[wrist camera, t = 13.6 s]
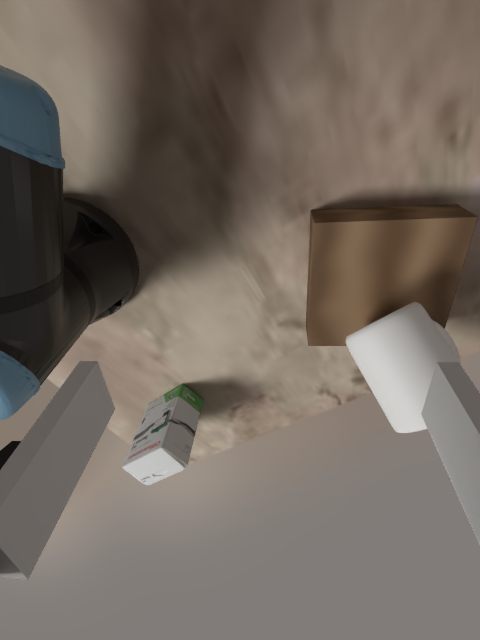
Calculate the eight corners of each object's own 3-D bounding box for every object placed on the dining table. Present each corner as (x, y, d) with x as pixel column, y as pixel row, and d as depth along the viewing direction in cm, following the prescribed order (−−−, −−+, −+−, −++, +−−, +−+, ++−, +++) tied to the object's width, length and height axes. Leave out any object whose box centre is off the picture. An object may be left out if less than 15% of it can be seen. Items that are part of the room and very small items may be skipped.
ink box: (183, 382, 54) (161, 447, 44) (205, 401, 56) (189, 467, 46) (146, 404, 57) (118, 469, 48) (167, 422, 59) (145, 488, 49)
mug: (454, 281, 36) (513, 371, 34) (394, 312, 43) (440, 388, 41) (383, 316, 30) (450, 427, 28) (327, 346, 37) (378, 437, 36)
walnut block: (305, 323, 47) (308, 345, 43) (310, 208, 39) (314, 223, 35) (424, 322, 45) (439, 345, 41) (455, 203, 37) (477, 217, 33)
